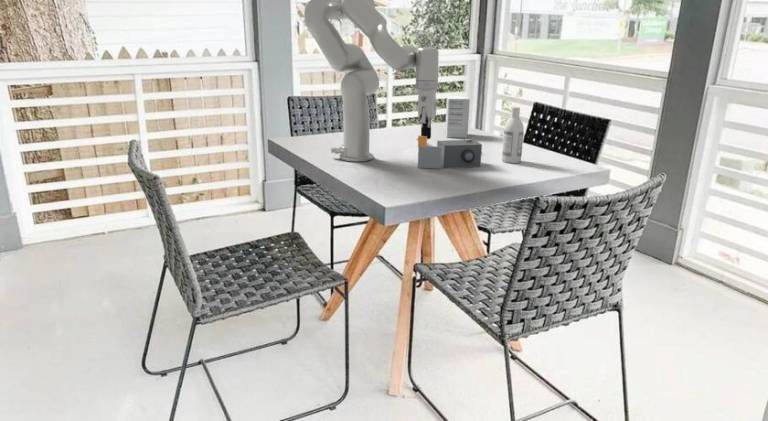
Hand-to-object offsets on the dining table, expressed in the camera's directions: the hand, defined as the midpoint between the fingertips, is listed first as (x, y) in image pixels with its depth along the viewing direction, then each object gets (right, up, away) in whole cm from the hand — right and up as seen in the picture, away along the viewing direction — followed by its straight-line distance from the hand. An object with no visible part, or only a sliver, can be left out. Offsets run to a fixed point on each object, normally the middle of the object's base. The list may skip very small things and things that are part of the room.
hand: (425, 138), depth 207 cm
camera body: (+12, -9, +6) cm, 16 cm away
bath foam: (+32, -7, +12) cm, 35 cm away
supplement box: (+17, +8, +55) cm, 58 cm away
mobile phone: (+10, -3, +23) cm, 26 cm away
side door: (+2, -10, +1) cm, 10 cm away
